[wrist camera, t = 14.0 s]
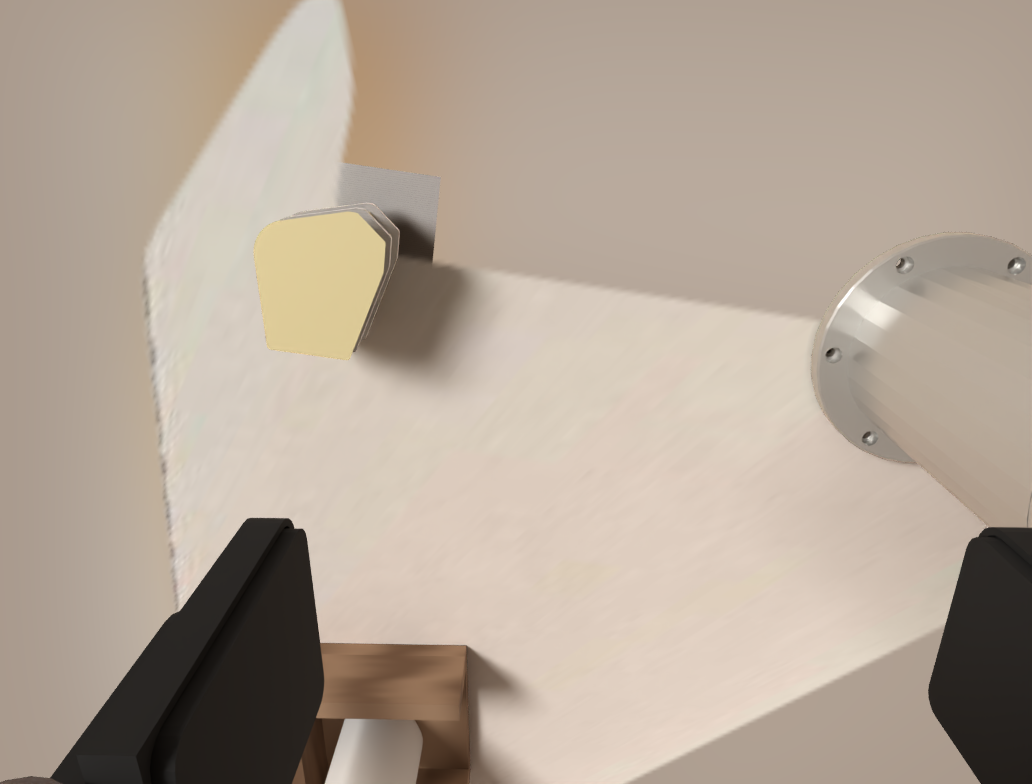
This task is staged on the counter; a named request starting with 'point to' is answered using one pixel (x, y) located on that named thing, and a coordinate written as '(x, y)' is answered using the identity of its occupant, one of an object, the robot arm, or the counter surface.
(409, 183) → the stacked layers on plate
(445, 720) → the open wooden box
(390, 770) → the eye dropper bottle
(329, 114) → the counter surface
